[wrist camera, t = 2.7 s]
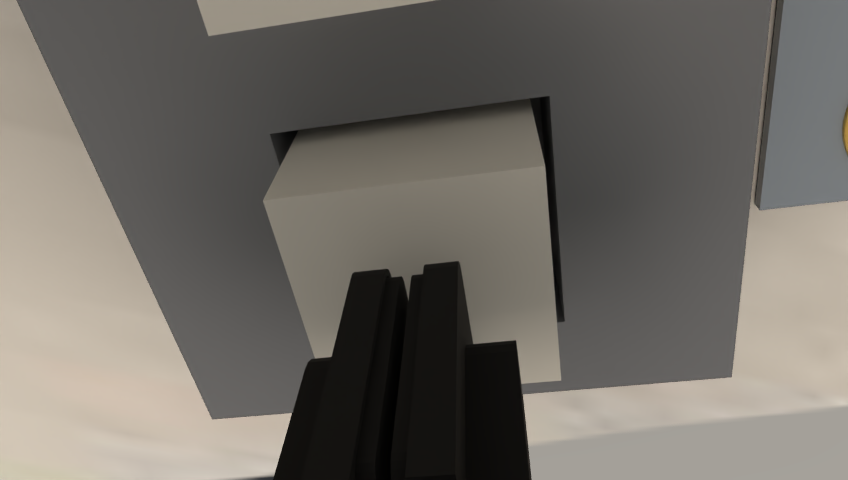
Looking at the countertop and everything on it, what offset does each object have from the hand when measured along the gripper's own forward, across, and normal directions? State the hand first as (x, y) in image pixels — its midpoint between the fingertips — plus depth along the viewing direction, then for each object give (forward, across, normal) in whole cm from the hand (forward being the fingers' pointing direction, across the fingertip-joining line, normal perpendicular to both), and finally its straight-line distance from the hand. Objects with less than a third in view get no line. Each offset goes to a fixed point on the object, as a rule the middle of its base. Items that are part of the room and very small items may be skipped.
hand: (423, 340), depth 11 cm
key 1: (+4, 0, 0) cm, 4 cm away
